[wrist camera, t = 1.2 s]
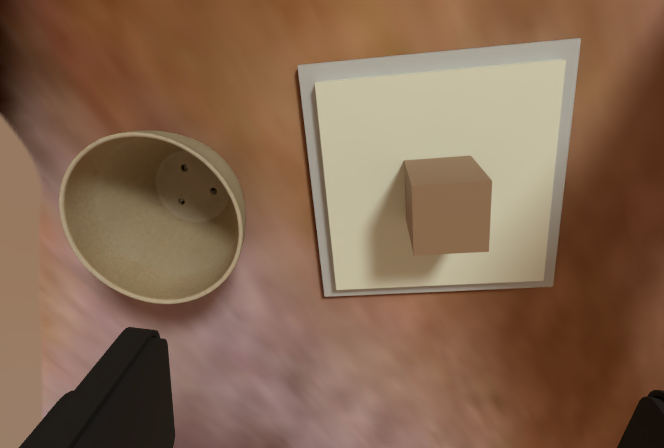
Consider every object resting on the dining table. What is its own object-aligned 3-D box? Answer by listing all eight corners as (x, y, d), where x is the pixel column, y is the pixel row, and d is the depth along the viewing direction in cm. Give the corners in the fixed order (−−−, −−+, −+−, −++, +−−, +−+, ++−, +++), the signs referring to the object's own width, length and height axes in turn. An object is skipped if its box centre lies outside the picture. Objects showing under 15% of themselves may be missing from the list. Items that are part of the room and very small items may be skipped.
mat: (576, 38, 26) (580, 38, 25) (549, 282, 32) (553, 286, 31) (298, 65, 27) (297, 65, 27) (325, 292, 33) (324, 296, 33)
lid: (560, 59, 25) (611, 66, 20) (539, 274, 31) (575, 325, 26) (316, 81, 27) (303, 94, 22) (336, 284, 32) (331, 334, 27)
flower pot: (272, 251, 32) (249, 307, 26) (137, 247, 33) (81, 301, 26) (263, 110, 28) (233, 133, 22) (110, 108, 29) (36, 131, 22)
